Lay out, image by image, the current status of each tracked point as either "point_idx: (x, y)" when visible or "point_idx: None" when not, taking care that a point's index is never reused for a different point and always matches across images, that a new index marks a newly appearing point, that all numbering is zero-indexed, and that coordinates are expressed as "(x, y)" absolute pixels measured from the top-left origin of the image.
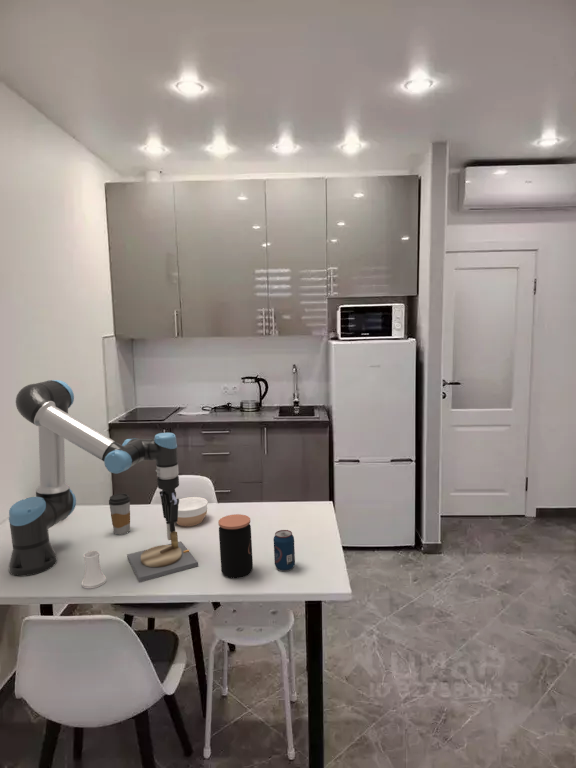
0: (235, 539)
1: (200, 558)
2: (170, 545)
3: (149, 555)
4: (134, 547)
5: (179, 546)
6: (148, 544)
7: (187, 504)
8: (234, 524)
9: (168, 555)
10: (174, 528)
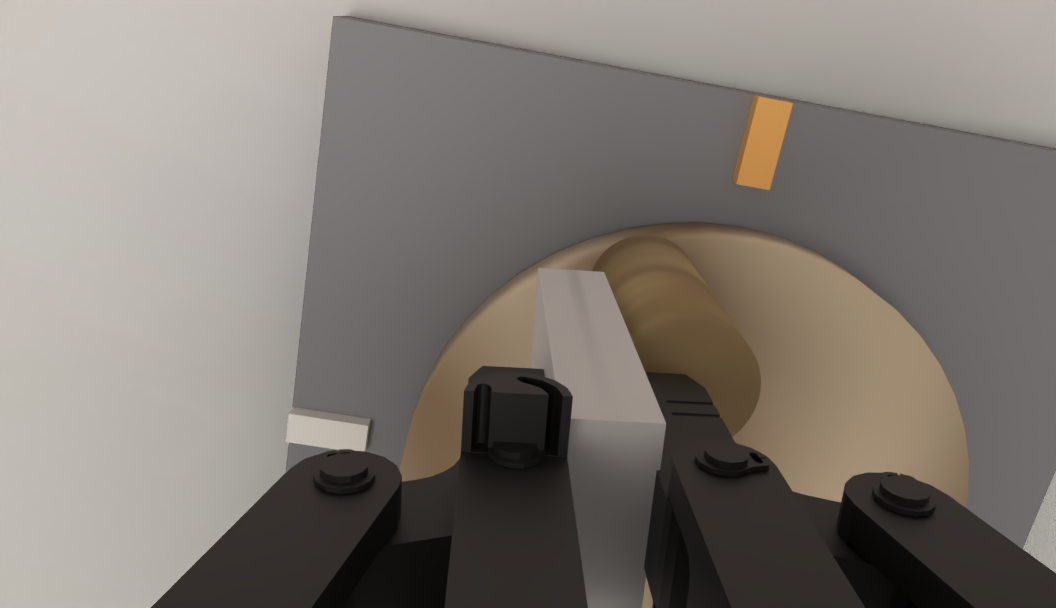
0: None
1: (974, 19)
2: (526, 308)
3: None
4: (6, 532)
5: (507, 133)
6: (17, 370)
7: None
8: None
9: (816, 469)
10: (710, 410)
